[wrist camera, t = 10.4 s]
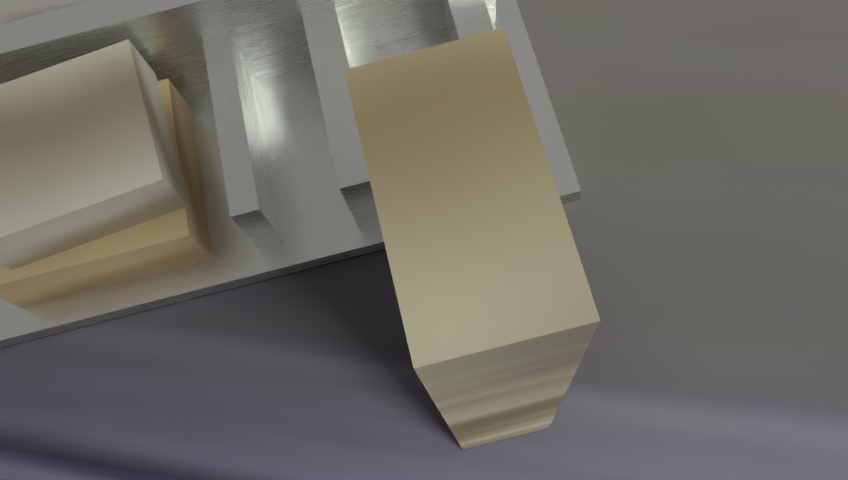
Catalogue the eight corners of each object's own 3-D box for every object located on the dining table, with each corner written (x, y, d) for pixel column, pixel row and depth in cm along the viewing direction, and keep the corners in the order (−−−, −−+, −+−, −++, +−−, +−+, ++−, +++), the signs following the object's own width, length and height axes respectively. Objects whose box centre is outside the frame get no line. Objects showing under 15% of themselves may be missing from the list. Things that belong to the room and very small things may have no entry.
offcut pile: (216, 255, 23) (166, 209, 19) (18, 306, 23) (-66, 269, 19) (194, 100, 25) (144, 34, 21) (11, 148, 25) (-67, 90, 21)
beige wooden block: (548, 428, 21) (600, 321, 10) (462, 449, 21) (413, 368, 10) (504, 274, 22) (503, 27, 11) (424, 295, 22) (343, 70, 11)
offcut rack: (579, 198, 23) (596, 124, 19) (-17, 352, 23) (-137, 314, 19) (507, -13, 26) (507, -120, 21) (-23, 125, 26) (-128, 47, 22)
